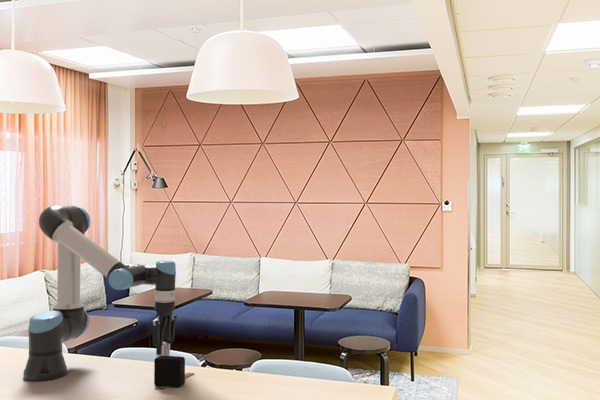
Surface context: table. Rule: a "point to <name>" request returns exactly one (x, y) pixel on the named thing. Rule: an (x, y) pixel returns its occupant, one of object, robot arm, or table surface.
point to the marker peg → (165, 348)
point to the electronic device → (169, 371)
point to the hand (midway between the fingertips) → (163, 361)
